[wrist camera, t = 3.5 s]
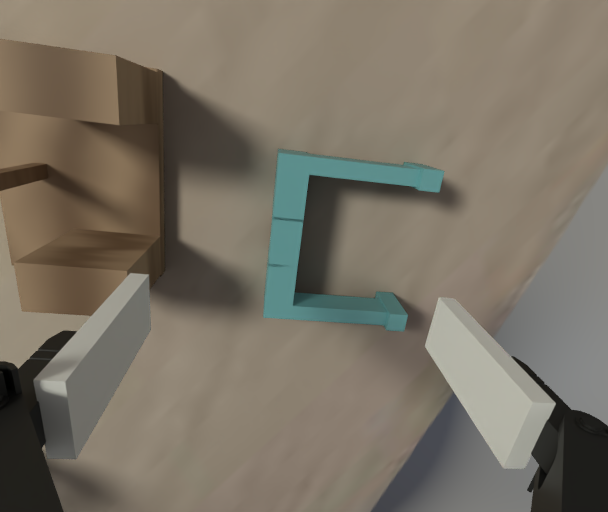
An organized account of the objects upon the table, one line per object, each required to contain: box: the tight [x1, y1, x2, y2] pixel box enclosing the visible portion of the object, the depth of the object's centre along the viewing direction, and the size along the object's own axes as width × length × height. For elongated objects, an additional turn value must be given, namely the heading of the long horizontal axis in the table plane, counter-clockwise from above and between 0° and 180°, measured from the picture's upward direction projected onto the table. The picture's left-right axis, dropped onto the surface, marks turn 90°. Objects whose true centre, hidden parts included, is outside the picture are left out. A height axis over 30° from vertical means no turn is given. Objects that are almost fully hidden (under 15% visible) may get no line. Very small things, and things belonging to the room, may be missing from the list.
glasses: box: [263, 149, 444, 331], centre depth 28 cm, size 11×13×4 cm
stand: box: [0, 39, 165, 316], centre depth 23 cm, size 11×15×8 cm
